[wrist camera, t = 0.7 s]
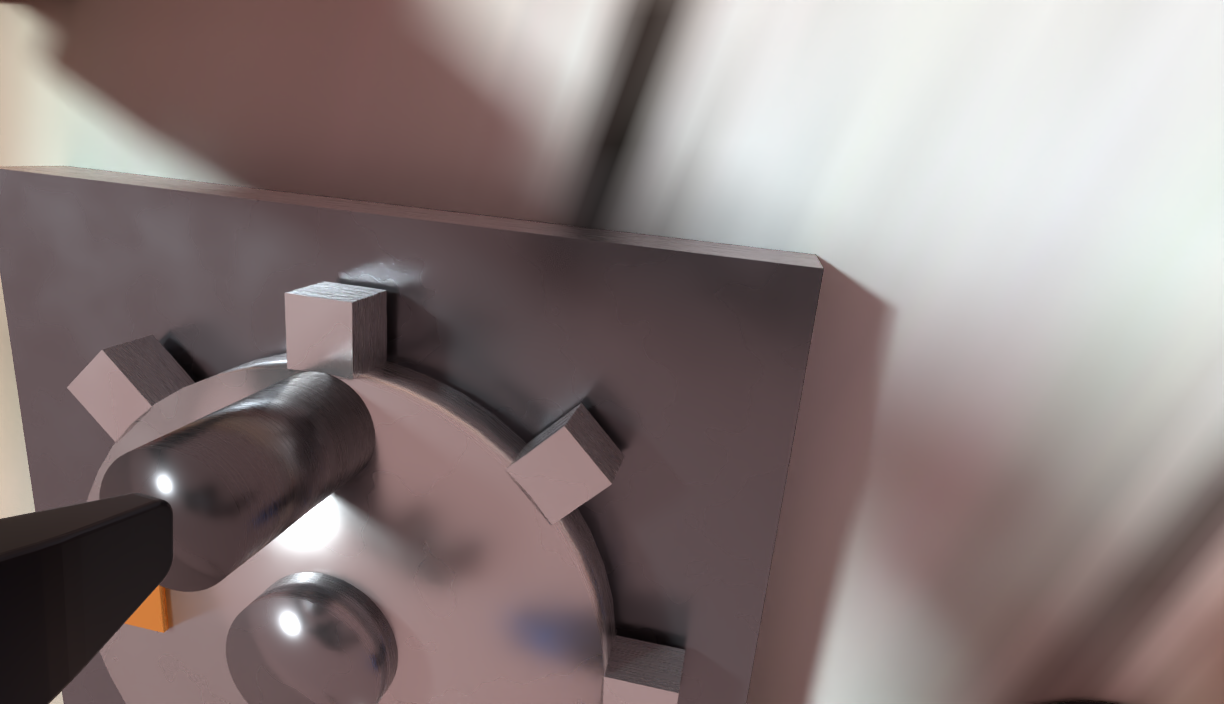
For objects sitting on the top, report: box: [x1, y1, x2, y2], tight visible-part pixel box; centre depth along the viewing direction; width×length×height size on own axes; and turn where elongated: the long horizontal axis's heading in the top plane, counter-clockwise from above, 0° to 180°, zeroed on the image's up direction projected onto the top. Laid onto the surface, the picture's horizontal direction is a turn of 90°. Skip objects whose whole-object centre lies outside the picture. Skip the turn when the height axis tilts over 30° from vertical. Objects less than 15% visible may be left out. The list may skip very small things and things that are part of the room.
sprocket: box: [67, 281, 685, 704], centre depth 19 cm, size 20×20×7 cm
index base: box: [0, 166, 824, 704], centre depth 22 cm, size 24×24×6 cm
